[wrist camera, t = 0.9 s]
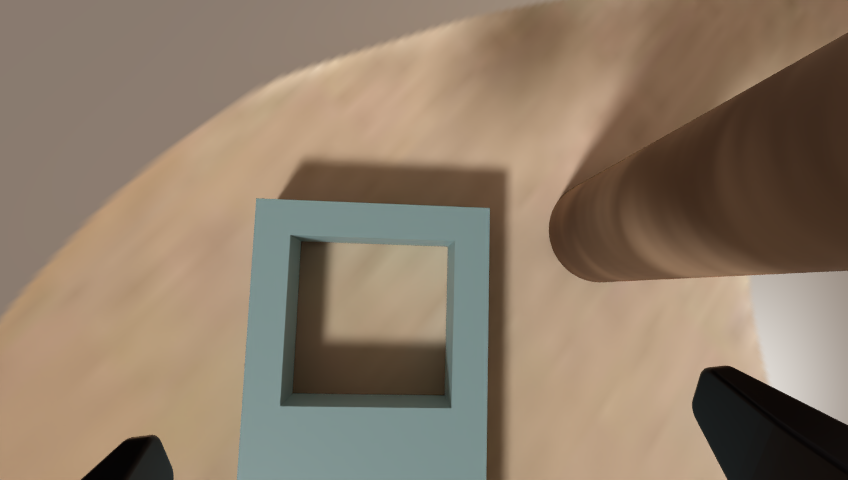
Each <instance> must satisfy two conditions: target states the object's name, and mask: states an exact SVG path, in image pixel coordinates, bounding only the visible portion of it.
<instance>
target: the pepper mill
mask: <svg viewBox="0 0 848 480" xmlns="http://www.w3.org/2000/svg"><path fill="white" fill-rule="evenodd" d="M549 237H550V242H551V246H552V249H553V251H554V253H555V255H556V257H557V258H558V260H559V261H560V262H561V264H562V265H563V266H564V267H565V268H566V269H567V270H568V271H570V272H571V273H572V274H574V275H576V276H577V277H579V278H582V279H584V280H588V281H592V282H615V281H637V280H658V279H679V278H701V277H722V276H743V275H763V274H764V275H765V274H786V273H806V272H829V271H848V33H846V34H845V35H843V36H841V37H839V38H838V39H836V40H834V41H832V42H831V43H829V44H827V45H825V46H823V47H822V48H820V49H818V50H816V51H815V52H813V53H811V54H809V55H808V56H806V57H804V58H802V59H800V60H799V61H797V62H795V63H793V64H792V65H790V66H788V67H786V68H785V69H783V70H781V71H779V72H777V73H776V74H774V75H772V76H770V77H769V78H767V79H765V80H763V81H762V82H760V83H758V84H756V85H755V86H753V87H751V88H749V89H747V90H746V91H744V92H742V93H740V94H739V95H737V96H735V97H733V98H732V99H730V100H728V101H726V102H724V103H723V104H721V105H719V106H717V107H716V108H714V109H712V110H710V111H709V112H707V113H705V114H703V115H701V116H700V117H698V118H696V119H694V120H693V121H691V122H689V123H687V124H686V125H684V126H682V127H680V128H679V129H677V130H675V131H673V132H671V133H670V134H668V135H666V136H664V137H663V138H661V139H659V140H657V141H656V142H654V143H652V144H650V145H648V146H647V147H645V148H643V149H641V150H640V151H638V152H636V153H634V154H633V155H631V156H629V157H627V158H626V159H624V160H622V161H620V162H618V163H617V164H615V165H613V166H611V167H610V168H608V169H606V170H604V171H603V172H601V173H599V174H597V175H595V176H594V177H592V178H590V179H588V180H587V181H585V182H583V183H581V184H580V185H578V186H576V187H574V188H573V189H571V190H569V191H568V192H567V193H566V194H564V195H563V196H562V197H561V198H560V200H559V201H558V202H557V204H556V205H555V207H554V209H553V212H552V214H551V218H550V223H549Z"/></svg>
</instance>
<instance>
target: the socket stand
mask: <svg viewBox="0 0 848 480" xmlns="http://www.w3.org/2000/svg"><path fill="white" fill-rule="evenodd" d="M489 234H490V208H476V207H452V206H428V205H404V204H379V203H355V202H331V201H307V200H283V199H258V198H256V211H255V226H254V240H253V255H252V269H251V284H250V298H249V313H248V327H247V342H246V356H245V371H244V385H243V400H242V414H241V429H240V443H239V458H238V472H237V480H486V463H487V386H488V310H489ZM301 241H309V242H337V243H365V244H393V245H421V246H448V268H447V312H446V355H445V395H381V394H308V393H293V376H294V358H295V341H296V324H297V306H298V289H299V271H300V254H301Z"/></svg>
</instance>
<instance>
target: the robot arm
mask: <svg viewBox="0 0 848 480" xmlns="http://www.w3.org/2000/svg"><path fill="white" fill-rule="evenodd" d="M692 409H693V413H694V416H695V418H696V420H697V422H698V424H699V426H700V428H701V430H702V432H703V434H704V436H705V437H706V439H707V441H708V443H709V445H710V447H711V449H712V451H713V453H714V455H715V457H716V459H717V461H718V462H719V464H720V466H721V468H722V470H723V472H724V474H725V476H726V478H727V480H848V425H846V424H844V423H842V422H840V421H838V420H836V419H834V418H832V417H830V416H828V415H826V414H824V413H822V412H821V411H819V410H816V409H815V408H813V407H810V406H808V405H807V404H805V403H802V402H801V401H799V400H797V399H795V398H793V397H791V396H789V395H787V394H785V393H783V392H781V391H779V390H777V389H775V388H773V387H771V386H769V385H767V384H765V383H763V382H761V381H759V380H757V379H755V378H753V377H751V376H749V375H747V374H745V373H743V372H741V371H739V370H737V369H735V368H733V367H730V366H717V367H709V368H705V369H704V370H703V371H702V372H701V374H700V377H699V381H698V384H697V387H696V391H695V394H694V397H693V401H692ZM81 480H173V469H172V466H171V464H170V461H169V459H168V457H167V454H166V452H165V450H164V447H163V445H162V443H161V441H160V439H159V438H158V437H157V436H155V435H147V436H139V437H131V438H129V439H127V440H125V441H123V442H122V443H121V444H120V445H119V446H118V447H117V448H115V449H114V450H113V451H112V452H111V453H110V454H109V455H108V456H107V457H106V458H104V459H103V460H102V461H101V462H100V463H99V464H98V465H97V466H96V467H94V468H93V469H92V470H91V471H90V472H89V473H88V474H87V475H86V476H84V477H83V478H82V479H81Z"/></svg>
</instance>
